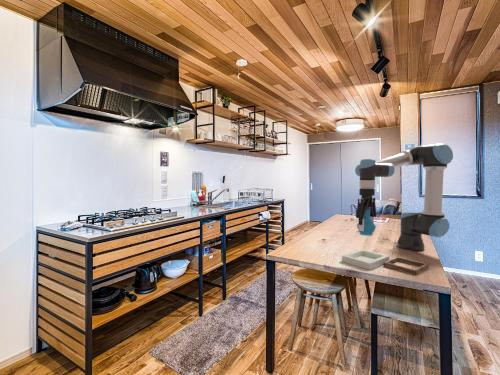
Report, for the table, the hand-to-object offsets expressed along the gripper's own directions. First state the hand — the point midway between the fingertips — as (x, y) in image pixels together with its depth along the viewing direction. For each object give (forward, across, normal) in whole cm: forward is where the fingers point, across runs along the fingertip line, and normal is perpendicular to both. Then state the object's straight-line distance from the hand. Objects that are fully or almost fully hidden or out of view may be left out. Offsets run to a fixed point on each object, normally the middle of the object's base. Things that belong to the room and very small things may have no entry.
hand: (366, 229), depth 141 cm
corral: (+17, -8, +17) cm, 26 cm away
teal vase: (+3, 0, 0) cm, 3 cm away
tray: (+18, 0, 0) cm, 18 cm away
